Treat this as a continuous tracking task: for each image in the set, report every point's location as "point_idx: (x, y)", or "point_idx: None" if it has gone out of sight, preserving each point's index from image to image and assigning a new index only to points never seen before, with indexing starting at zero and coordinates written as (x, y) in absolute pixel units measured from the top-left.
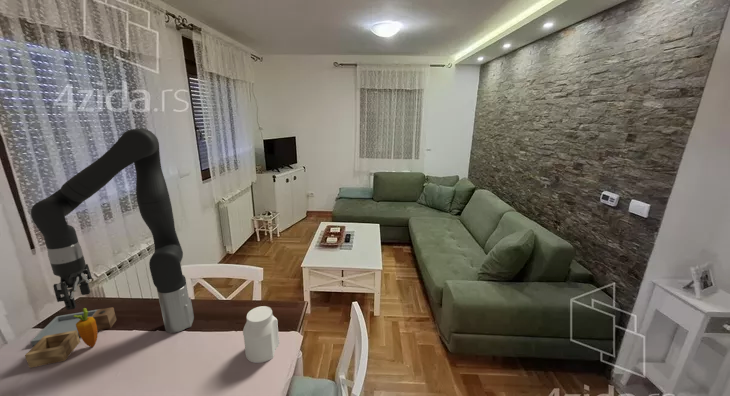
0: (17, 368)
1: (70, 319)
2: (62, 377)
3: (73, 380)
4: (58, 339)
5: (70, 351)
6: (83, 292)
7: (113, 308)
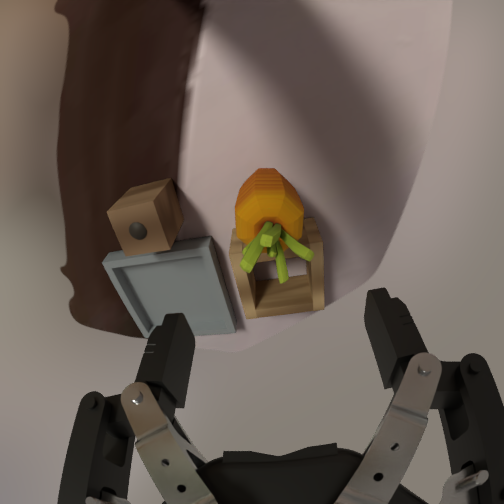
0: None
1: (143, 307)
2: (381, 183)
3: (401, 148)
4: (250, 281)
5: None
6: (189, 347)
7: (110, 209)
